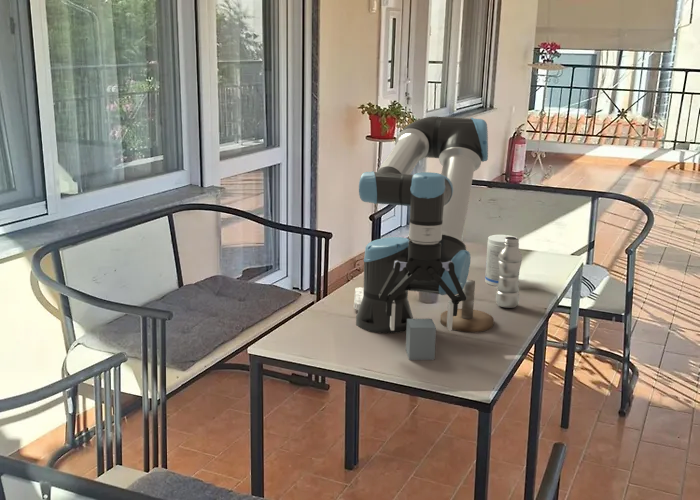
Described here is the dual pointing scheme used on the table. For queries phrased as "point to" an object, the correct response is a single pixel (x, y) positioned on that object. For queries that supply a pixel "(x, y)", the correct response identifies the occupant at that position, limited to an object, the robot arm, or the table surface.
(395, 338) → the table surface
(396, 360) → the table surface
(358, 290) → the relief plaque
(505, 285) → the plastic bottle
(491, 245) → the supplement tub
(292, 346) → the table surface
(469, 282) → the peg stand
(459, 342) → the table surface
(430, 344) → the light grey rectangular block
